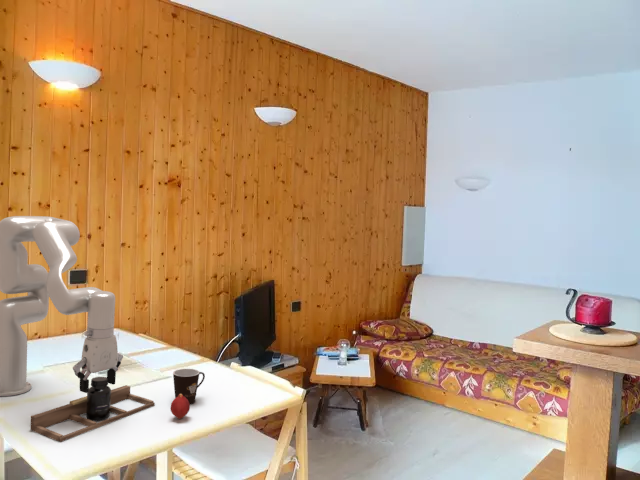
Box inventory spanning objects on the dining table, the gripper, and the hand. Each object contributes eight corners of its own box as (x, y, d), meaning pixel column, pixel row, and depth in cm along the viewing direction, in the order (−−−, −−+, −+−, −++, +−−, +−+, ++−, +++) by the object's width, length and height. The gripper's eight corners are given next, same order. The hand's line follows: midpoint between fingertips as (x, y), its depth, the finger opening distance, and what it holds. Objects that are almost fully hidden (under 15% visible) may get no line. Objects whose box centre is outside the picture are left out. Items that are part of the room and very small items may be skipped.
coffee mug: (175, 407, 178) (176, 377, 178) (169, 398, 186) (170, 369, 185) (210, 403, 184) (211, 374, 183) (203, 394, 191) (204, 366, 191)
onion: (172, 414, 172) (173, 390, 172) (190, 415, 173) (191, 390, 172) (168, 422, 166) (169, 396, 166) (187, 422, 167) (188, 397, 166)
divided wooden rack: (30, 429, 156) (30, 414, 156) (125, 396, 186) (126, 383, 185) (60, 442, 149) (61, 425, 149) (154, 405, 179) (155, 391, 179)
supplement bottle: (101, 423, 163) (102, 383, 162) (81, 420, 165) (82, 381, 164) (114, 414, 170) (115, 376, 169) (94, 411, 171) (96, 374, 171)
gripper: (83, 340, 156) (81, 398, 157) (131, 329, 171) (128, 383, 172) (66, 335, 160) (64, 392, 161) (115, 325, 175) (112, 377, 176)
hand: (97, 387), depth 167 cm, fingers open, 9 cm apart
